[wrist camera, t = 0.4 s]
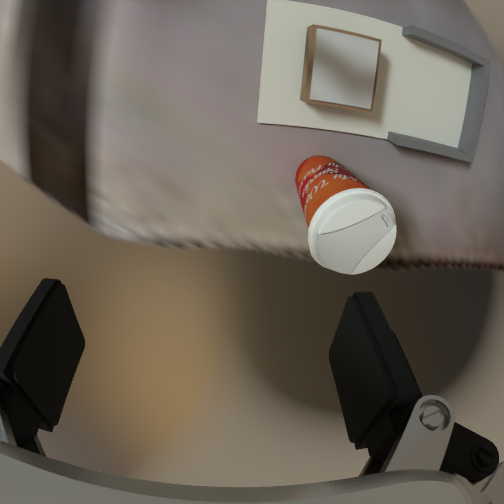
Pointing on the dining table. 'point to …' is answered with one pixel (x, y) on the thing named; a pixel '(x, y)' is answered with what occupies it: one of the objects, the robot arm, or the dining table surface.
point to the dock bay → (379, 82)
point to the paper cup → (344, 217)
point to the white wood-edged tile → (340, 68)
